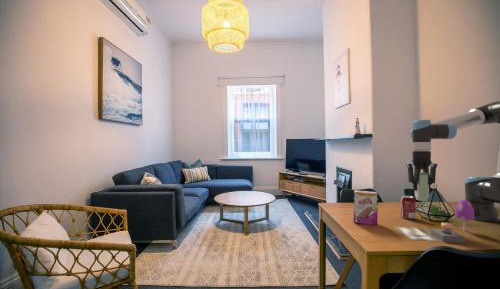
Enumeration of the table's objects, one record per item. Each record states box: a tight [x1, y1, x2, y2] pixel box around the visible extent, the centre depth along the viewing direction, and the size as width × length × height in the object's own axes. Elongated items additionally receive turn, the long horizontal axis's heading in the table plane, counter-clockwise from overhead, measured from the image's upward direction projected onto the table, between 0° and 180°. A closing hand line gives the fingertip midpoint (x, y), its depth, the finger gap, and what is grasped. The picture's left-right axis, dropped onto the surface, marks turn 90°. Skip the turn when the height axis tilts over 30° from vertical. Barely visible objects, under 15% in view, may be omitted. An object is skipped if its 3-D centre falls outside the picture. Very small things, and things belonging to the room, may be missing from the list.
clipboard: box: [392, 226, 459, 244], centre depth 104 cm, size 20×16×1 cm
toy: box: [454, 199, 475, 232], centre depth 108 cm, size 7×7×15 cm
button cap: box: [440, 222, 454, 234], centre depth 99 cm, size 4×4×4 cm
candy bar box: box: [353, 189, 379, 227], centre depth 120 cm, size 11×5×16 cm, turn 65°
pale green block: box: [415, 171, 429, 202], centre depth 116 cm, size 4×4×14 cm
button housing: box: [430, 228, 466, 244], centre depth 99 cm, size 8×8×2 cm
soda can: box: [400, 195, 417, 220], centre depth 129 cm, size 7×7×12 cm
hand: (421, 197), depth 116 cm, fingers closed on pale green block, 4 cm apart
